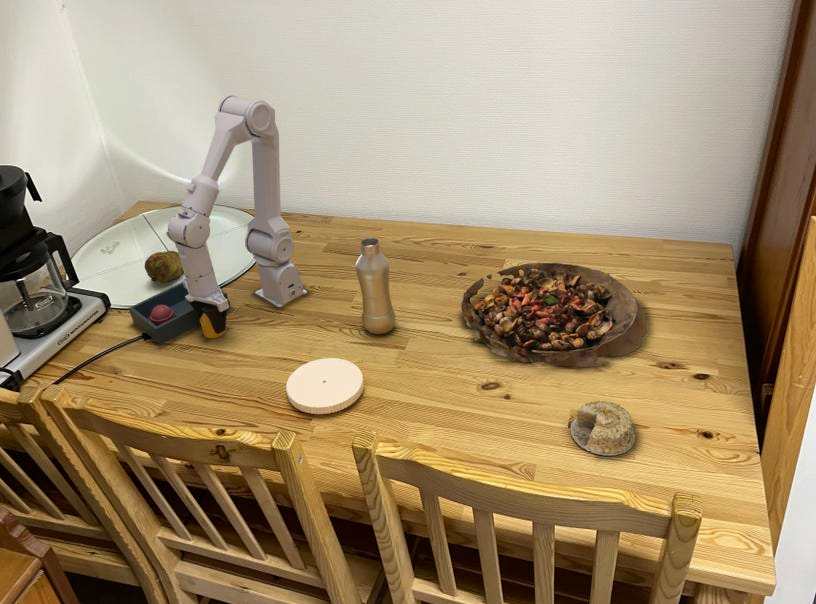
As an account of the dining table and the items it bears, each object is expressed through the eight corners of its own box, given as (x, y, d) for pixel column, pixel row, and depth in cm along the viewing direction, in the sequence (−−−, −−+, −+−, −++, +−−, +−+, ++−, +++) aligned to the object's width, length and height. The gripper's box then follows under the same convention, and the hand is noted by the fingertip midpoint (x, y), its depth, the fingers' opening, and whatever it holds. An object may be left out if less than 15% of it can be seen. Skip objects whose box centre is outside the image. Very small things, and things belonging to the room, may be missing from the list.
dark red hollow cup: (180, 324, 156) (175, 305, 153) (160, 335, 154) (154, 315, 151) (169, 316, 159) (163, 297, 157) (149, 326, 157) (143, 307, 154)
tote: (230, 310, 160) (226, 292, 157) (161, 347, 151) (155, 329, 148) (201, 291, 168) (197, 274, 165) (134, 325, 159) (128, 307, 157)
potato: (200, 267, 178) (192, 238, 173) (167, 294, 169) (158, 265, 164) (173, 262, 181) (165, 234, 177) (140, 289, 172) (130, 260, 168)
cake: (616, 410, 121) (622, 385, 118) (646, 452, 112) (653, 426, 109) (559, 418, 120) (564, 393, 117) (585, 461, 111) (590, 435, 108)
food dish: (440, 357, 139) (436, 323, 134) (488, 272, 163) (486, 241, 159) (635, 386, 124) (638, 349, 120) (656, 288, 148) (659, 254, 144)
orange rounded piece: (230, 330, 152) (225, 308, 148) (211, 341, 149) (205, 318, 146) (218, 322, 155) (212, 299, 152) (199, 332, 152) (193, 310, 149)
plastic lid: (340, 426, 124) (338, 415, 123) (273, 406, 131) (271, 396, 129) (377, 378, 134) (376, 367, 133) (313, 361, 141) (311, 351, 139)
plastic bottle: (394, 338, 144) (384, 250, 133) (360, 338, 145) (348, 250, 134) (398, 320, 149) (390, 233, 138) (366, 319, 150) (355, 234, 139)
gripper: (163, 267, 147) (180, 322, 154) (200, 291, 137) (216, 349, 144) (193, 253, 150) (208, 308, 158) (231, 276, 141) (245, 333, 148)
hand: (213, 326), depth 151 cm, fingers closed on orange rounded piece, 5 cm apart
